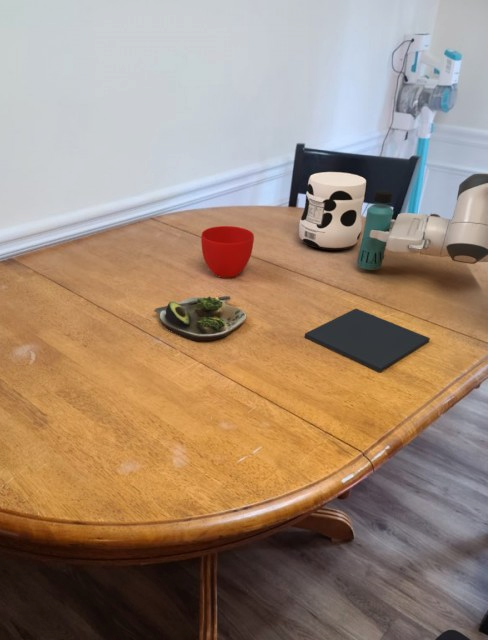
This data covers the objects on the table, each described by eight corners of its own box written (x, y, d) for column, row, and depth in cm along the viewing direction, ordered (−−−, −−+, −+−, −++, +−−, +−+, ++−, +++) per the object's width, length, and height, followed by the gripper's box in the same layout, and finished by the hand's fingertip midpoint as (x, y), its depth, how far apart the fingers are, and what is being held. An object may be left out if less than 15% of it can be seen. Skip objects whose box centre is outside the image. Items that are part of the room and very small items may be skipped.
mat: (428, 342, 116) (430, 338, 115) (379, 373, 106) (380, 368, 106) (355, 312, 127) (355, 308, 126) (304, 337, 117) (305, 333, 116)
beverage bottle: (353, 273, 145) (368, 193, 134) (357, 264, 150) (371, 186, 139) (379, 277, 143) (397, 196, 132) (382, 267, 148) (399, 189, 137)
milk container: (357, 236, 168) (369, 173, 158) (358, 257, 154) (371, 189, 144) (299, 231, 171) (307, 169, 161) (294, 251, 157) (303, 184, 147)
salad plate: (201, 293, 134) (202, 275, 131) (263, 316, 125) (265, 297, 122) (144, 321, 122) (143, 302, 119) (208, 349, 113) (208, 329, 110)
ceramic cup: (254, 259, 152) (257, 222, 146) (248, 285, 138) (251, 245, 132) (206, 256, 154) (207, 219, 148) (196, 281, 140) (197, 241, 134)
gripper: (424, 263, 130) (363, 254, 135) (431, 236, 145) (376, 228, 150) (431, 236, 127) (368, 227, 131) (437, 211, 142) (381, 204, 146)
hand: (373, 228), depth 141 cm, fingers closed on beverage bottle, 6 cm apart
